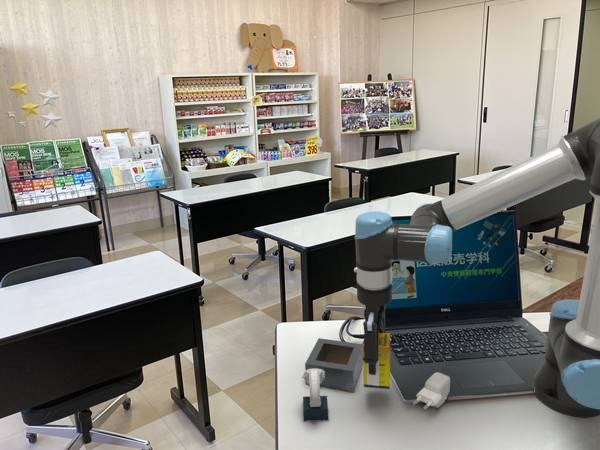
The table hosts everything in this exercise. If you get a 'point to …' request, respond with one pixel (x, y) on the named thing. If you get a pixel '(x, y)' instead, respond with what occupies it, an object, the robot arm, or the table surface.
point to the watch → (314, 397)
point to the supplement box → (381, 362)
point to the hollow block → (337, 363)
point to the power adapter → (434, 391)
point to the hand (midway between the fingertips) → (376, 374)
